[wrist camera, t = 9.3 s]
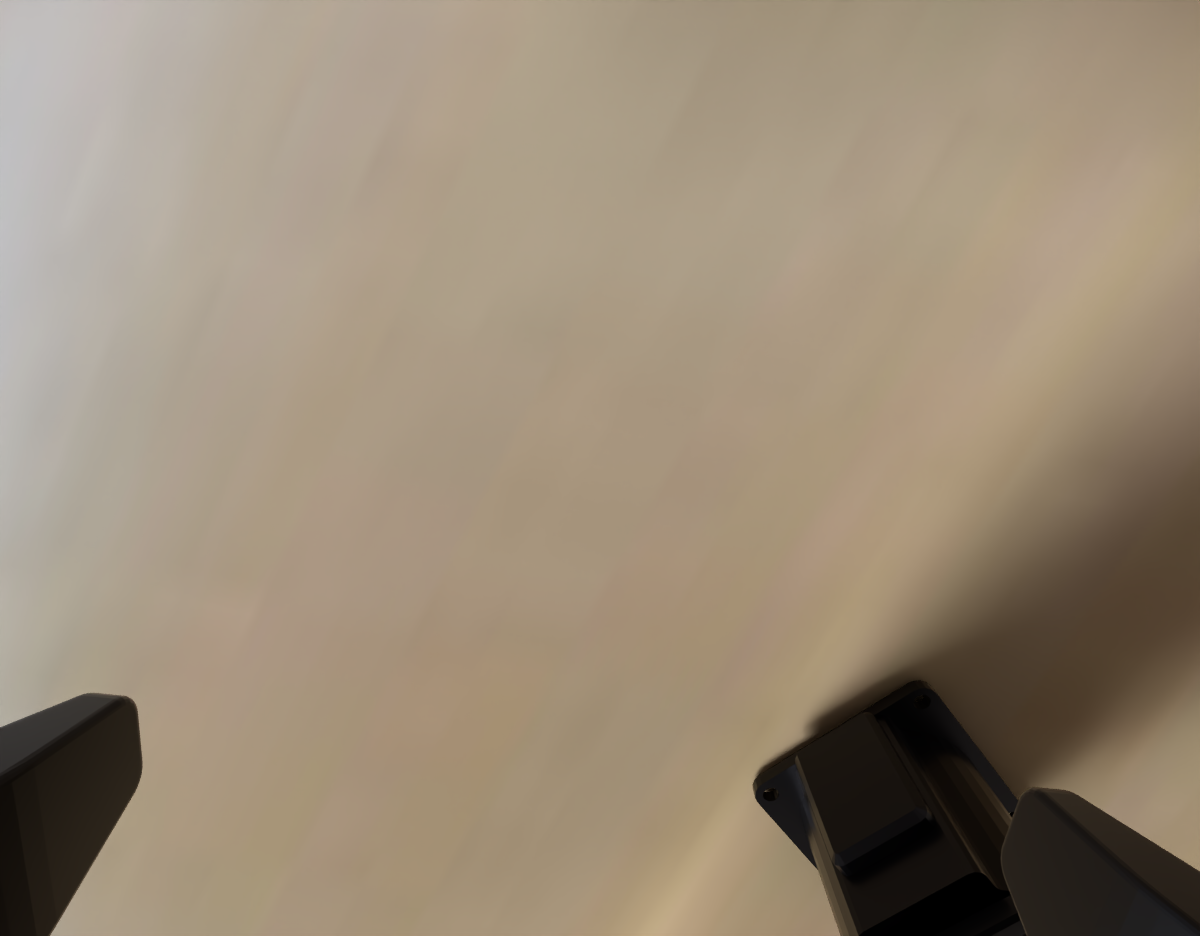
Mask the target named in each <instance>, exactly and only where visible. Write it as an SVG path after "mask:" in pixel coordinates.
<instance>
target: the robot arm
mask: <svg viewBox="0 0 1200 936" xmlns="http://www.w3.org/2000/svg"><path fill="white" fill-rule="evenodd" d="M921 695H924V698H923V699H922V700H920V701H917V702H916V701H914V700H915V699H916V698H917V697H918V696H921ZM141 774H142V752H141V741H140V730H139V720H138V711H137V706H136V704H135V702H134V701H133V700H132V699H131V698H129V697H127V696H121V695H111V694H101V693H87V694H83V695H80V696H77V697H75V698H72V699H70V700H67V701H65V702H62V703H60V704H57V705H55V706H52V707H50V708H47V709H45V710H43V711H40V712H38V713H35V714H33V715H30V716H28V717H25V718H23V719H20V720H18V721H15V722H13V723H10V724H8V725H5V726H3V727H0V936H50V935H51V933H52V931H53V930H54V928H55V927H56V925H57V923H58V922H59V920H60V918H61V917H62V915H63V913H64V912H65V910H66V908H67V906H68V905H69V903H70V901H71V900H72V898H73V896H74V895H75V893H76V891H77V890H78V888H79V886H80V884H81V883H82V881H83V879H84V878H85V876H86V874H87V873H88V871H89V869H90V868H91V866H92V864H93V862H94V861H95V859H96V857H97V856H98V854H99V852H100V851H101V849H102V847H103V846H104V844H105V842H106V840H107V839H108V837H109V835H110V834H111V832H112V830H113V829H114V827H115V825H116V823H117V822H118V820H119V818H120V817H121V815H122V813H123V812H124V810H125V808H126V807H127V805H128V803H129V801H130V800H131V798H132V796H133V795H134V793H135V791H136V789H137V786H138V784H139V781H140V778H141ZM769 788H775V789H774V790H773V791H770V792H764V791H765V790H766V789H769ZM753 791H754V795H755V798H756V800H757V802H758V803H759V804H760V806H761V807H762V808H763V809H764V810H765V811H766V812H767V813H768V815H769V816H770V817H771V818H772V819H773V820H774V821H775V822H776V823H777V825H778V826H779V827H780V828H781V829H782V830H783V831H784V832H785V834H786V835H787V836H788V837H789V838H790V839H791V840H792V841H793V843H794V844H795V845H796V846H797V847H798V848H799V849H800V850H801V852H802V853H803V854H804V855H805V856H806V857H807V858H808V859H809V861H810V862H811V863H812V864H813V865H814V866H815V867H816V868H817V870H818V871H819V874H820V877H821V880H822V883H823V885H824V888H825V891H826V894H827V897H828V900H829V903H830V906H831V909H832V912H833V915H834V918H835V920H836V923H837V926H838V929H839V932H840V935H841V936H1200V871H1198V870H1197V869H1195V868H1193V867H1192V866H1190V865H1189V864H1187V863H1185V862H1184V861H1182V860H1181V859H1179V858H1177V857H1176V856H1174V855H1173V854H1171V853H1169V852H1168V851H1166V850H1165V849H1163V848H1161V847H1160V846H1158V845H1157V844H1155V843H1153V842H1152V841H1150V840H1149V839H1147V838H1145V837H1144V836H1142V835H1141V834H1139V833H1137V832H1136V831H1134V830H1133V829H1131V828H1129V827H1128V826H1126V825H1125V824H1123V823H1121V822H1120V821H1118V820H1117V819H1115V818H1113V817H1112V816H1110V815H1109V814H1107V813H1105V812H1104V811H1102V810H1101V809H1099V808H1097V807H1096V806H1094V805H1093V804H1091V803H1089V802H1088V801H1086V800H1085V799H1083V798H1081V797H1080V796H1078V795H1076V794H1074V793H1072V792H1070V791H1066V790H1059V789H1049V788H1039V787H1032V788H1028V789H1026V790H1025V791H1024V792H1023V793H1022V794H1021V796H1020V798H1019V800H1017V799H1016V797H1015V796H1014V795H1013V793H1012V792H1011V791H1010V789H1009V788H1008V787H1007V785H1006V784H1005V783H1004V781H1003V780H1002V779H1001V777H1000V776H999V775H998V774H997V772H996V771H995V770H994V768H993V767H992V766H991V764H990V763H989V762H988V760H987V759H986V758H985V756H984V755H983V754H982V752H981V751H980V750H979V749H978V747H977V746H976V745H975V743H974V742H973V741H972V739H971V738H970V737H969V735H968V734H967V733H966V731H965V730H964V729H963V727H962V726H961V725H960V724H959V722H958V721H957V720H956V718H955V717H954V716H953V714H952V713H951V712H950V710H949V709H948V708H947V706H946V705H945V704H944V702H943V701H942V700H941V699H940V697H939V696H938V695H937V693H936V692H935V691H934V689H933V688H932V687H931V685H929V684H928V683H927V682H924V681H921V680H918V681H912V682H910V683H908V684H906V685H904V686H903V687H901V688H900V689H898V690H896V691H895V692H893V693H891V694H890V695H888V696H887V697H885V698H883V699H882V700H880V701H879V702H877V703H875V704H874V705H872V706H870V707H869V708H867V709H866V710H864V711H862V712H861V713H859V714H858V715H856V716H854V717H853V718H851V719H849V720H848V721H846V722H845V723H843V724H841V725H840V726H838V727H837V728H835V729H833V730H832V731H830V732H828V733H827V734H825V735H824V736H822V737H820V738H819V739H817V740H816V741H814V742H812V743H811V744H809V745H807V746H806V747H804V748H803V749H801V750H799V751H798V752H796V753H795V754H793V755H791V756H790V757H788V758H786V759H785V760H783V761H782V762H780V763H778V764H777V765H775V766H774V767H772V768H770V769H769V770H767V771H765V772H764V773H762V774H761V775H759V776H758V777H757V778H756V779H755V780H754V782H753ZM1010 812H1011V813H1010ZM1009 813H1010V814H1009Z"/></svg>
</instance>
